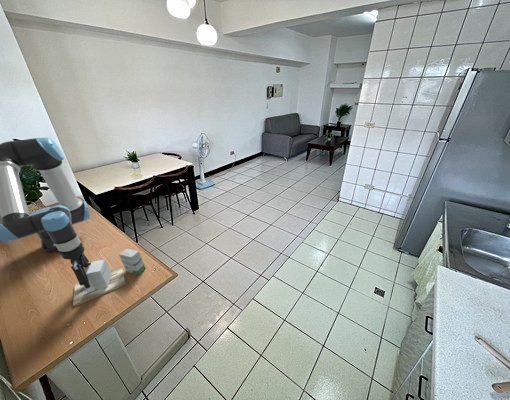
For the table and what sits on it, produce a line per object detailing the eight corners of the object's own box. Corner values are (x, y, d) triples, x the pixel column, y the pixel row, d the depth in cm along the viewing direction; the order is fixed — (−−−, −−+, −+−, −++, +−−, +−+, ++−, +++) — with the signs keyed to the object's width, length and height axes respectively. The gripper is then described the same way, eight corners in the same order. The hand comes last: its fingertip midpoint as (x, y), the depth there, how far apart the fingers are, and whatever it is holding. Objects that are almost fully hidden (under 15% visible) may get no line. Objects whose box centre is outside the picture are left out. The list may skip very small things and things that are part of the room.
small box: (99, 277, 105) (91, 261, 100) (112, 274, 106) (104, 258, 101) (94, 290, 98) (85, 274, 93) (108, 287, 100) (99, 271, 95)
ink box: (146, 268, 111) (139, 250, 105) (138, 275, 107) (131, 257, 101) (133, 264, 114) (126, 247, 108) (125, 271, 110) (117, 254, 104)
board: (75, 286, 102) (74, 284, 101) (122, 267, 112) (122, 266, 111) (74, 306, 92) (72, 304, 92) (125, 284, 102) (124, 282, 101)
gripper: (61, 236, 95) (82, 273, 105) (54, 266, 79) (80, 305, 90) (82, 230, 98) (100, 266, 109) (79, 257, 82) (101, 296, 93)
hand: (91, 284), depth 99 cm, fingers open, 9 cm apart
